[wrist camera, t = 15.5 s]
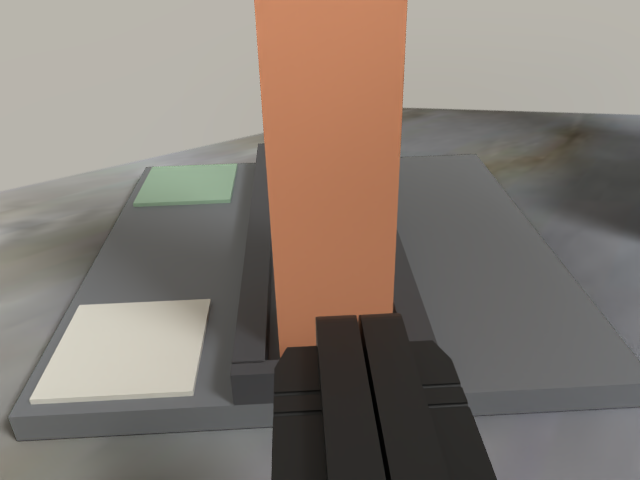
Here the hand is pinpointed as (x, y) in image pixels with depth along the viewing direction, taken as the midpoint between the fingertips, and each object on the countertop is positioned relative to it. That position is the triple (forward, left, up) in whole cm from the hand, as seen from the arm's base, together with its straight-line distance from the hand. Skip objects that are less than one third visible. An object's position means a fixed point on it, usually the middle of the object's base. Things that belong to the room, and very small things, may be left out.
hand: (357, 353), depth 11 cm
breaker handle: (0, -8, -6) cm, 10 cm away
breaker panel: (0, -15, -7) cm, 17 cm away
